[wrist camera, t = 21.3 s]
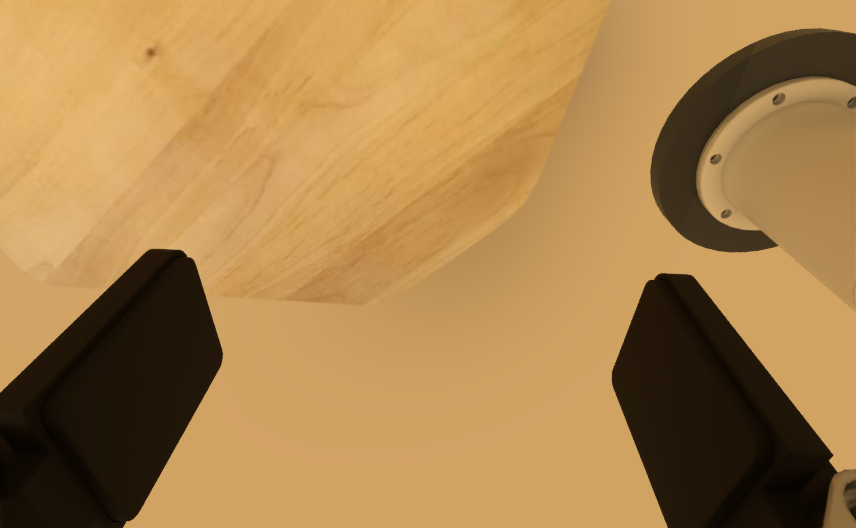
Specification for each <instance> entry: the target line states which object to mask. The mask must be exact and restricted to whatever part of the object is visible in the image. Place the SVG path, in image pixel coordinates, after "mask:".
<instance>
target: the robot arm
mask: <svg viewBox="0 0 856 528" xmlns="http://www.w3.org/2000/svg"><path fill="white" fill-rule="evenodd" d="M696 188H697V192H698V197H699V198H700V200H701V202H702V204H703V206H704V207H705V208H706V209H707V210H708V211H709V213H710V214H711V215H712V216H714V217H715V218H716V219H717V220H718V221H720V222H722V223H724V224H726V225H728V226H730V227H733V228H738V229H742V230H761V231H762V232H763V233H765V234H766V235H767V236H768V237H769V238H770V239H772V240H773V241H774V242H775V243H776V244H777V245H779V246H780V247H781V248H782V249H783V250H784V251H786V252H787V253H788V254H789V255H790V256H791V257H793V258H794V259H795V260H796V261H797V262H798V263H800V264H801V265H802V266H803V267H804V268H805V269H806V270H808V271H809V272H810V273H811V274H812V275H814V276H815V277H816V278H817V279H818V280H819V281H820V282H822V283H823V284H824V285H825V286H826V287H828V288H829V289H830V290H831V291H832V292H834V294H836V295H837V296H838V297H839V298H840V299H841V300H843V301H844V302H845V303H846V304H848V306H850V307H851V308H852V309H853V310H854V311H856V86H853V85H851V84H849V83H846V82H844V81H841V80H837V79H833V78H829V77H818V76H808V77H802V78H795V79H791V80H787V81H784V82H781V83H778V84H775V85H773V86H771V87H769V88H767V89H765V90H762V91H760V92H758V93H757V94H755V95H754V96H752V97H751V98H749V99H748V100H746V101H745V102H743V103H742V104H740V105H739V106H738V107H737V108H736V109H735V110H733V111H732V112H731V113H730V114H729V115H728V116H727V117H726V118H725V119H724V120H723V121H722V122H721V124H720V125H719V126H718V127H717V128H716V129H715V131H714V132H713V134H712V135H711V137H710V138H709V140H708V141H707V143H706V145H705V147H704V149H703V151H702V154H701V156H700V158H699V162H698V166H697V171H696ZM222 359H223V352H222V348H221V344H220V341H219V338H218V335H217V332H216V328H215V325H214V322H213V319H212V316H211V312H210V309H209V306H208V303H207V299H206V296H205V293H204V290H203V286H202V283H201V280H200V277H199V274H198V270H197V267H196V264H195V262H194V260H193V259H192V258H190V257H187V255H186V254H185V253H184V252H183V251H181V250H169V249H150V250H148V251H147V252H146V253H145V254H143V255H142V256H141V257H140V258H139V259H138V260H137V261H136V262H135V263H134V264H133V265H132V266H131V267H130V268H129V269H128V270H127V271H126V272H125V273H124V274H123V275H122V276H121V277H120V278H119V279H118V280H117V281H116V282H114V283H113V284H112V285H111V286H110V287H109V288H108V289H107V290H106V291H105V292H104V293H103V294H102V295H101V296H100V297H99V298H98V299H97V300H96V301H95V302H94V303H93V304H92V305H91V306H90V307H89V308H88V309H86V310H85V312H83V313H82V314H81V315H80V316H79V317H78V318H77V319H76V320H75V321H74V322H73V323H72V324H71V325H70V326H69V327H68V328H67V329H66V330H65V331H64V332H63V333H62V334H61V335H60V336H59V337H58V338H56V340H55V341H54V342H52V343H51V344H50V345H49V346H48V347H47V348H46V349H45V350H44V351H43V352H42V353H41V354H40V355H39V356H38V357H37V358H36V359H35V360H34V361H33V362H32V363H31V364H30V365H28V366H27V367H26V368H25V369H24V371H22V372H21V373H20V375H18V376H17V377H16V378H15V379H14V380H13V381H12V382H11V383H10V384H9V385H8V386H7V387H6V388H5V389H4V390H3V391H2V392H1V393H0V528H123V527H124V525H125V523H126V521H130V520H132V519H134V518H135V517H136V516H137V514H138V513H139V511H140V510H141V508H142V506H143V505H144V503H145V501H146V499H147V497H148V496H149V494H150V492H151V490H152V488H153V487H154V485H155V483H156V481H157V479H158V478H159V476H160V474H161V472H162V470H163V469H164V467H165V465H166V463H167V461H168V460H169V458H170V456H171V454H172V453H173V451H174V449H175V447H176V445H177V444H178V442H179V440H180V438H181V437H182V435H183V433H184V431H185V429H186V428H187V426H188V424H189V422H190V420H191V419H192V417H193V415H194V413H195V411H196V410H197V408H198V406H199V404H200V403H201V401H202V399H203V397H204V395H205V394H206V392H207V390H208V388H209V386H210V385H211V383H212V381H213V379H214V377H215V376H216V374H217V372H218V370H219V368H220V366H221V363H222ZM612 385H613V388H614V391H615V393H616V396H617V399H618V401H619V404H620V406H621V409H622V411H623V414H624V416H625V419H626V422H627V424H628V427H629V429H630V432H631V434H632V437H633V440H634V442H635V445H636V447H637V450H638V452H639V455H640V457H641V460H642V462H643V465H644V468H645V470H646V473H647V475H648V478H649V481H650V483H651V486H652V488H653V491H654V493H655V496H656V498H657V501H658V504H659V506H660V509H661V511H662V514H663V516H664V519H665V521H666V524H667V527H668V528H856V469H855V470H843V471H841V472H839V473H838V472H837V471H836V470H835V469H834V467H833V466H832V465H831V463H830V462H829V460H830V459H831V457H832V456H833V454H832V453H831V452H830V450H829V449H828V448H827V446H826V445H825V444H824V443H823V441H822V440H821V439H820V437H819V436H818V435H817V434H816V432H815V431H814V430H813V429H812V427H811V426H810V425H809V423H808V422H807V421H806V420H805V419H804V417H803V416H802V415H801V413H800V412H799V411H798V410H797V408H796V407H795V406H794V404H793V403H792V402H791V400H790V399H789V398H788V397H787V395H786V394H785V393H784V392H783V390H782V389H781V388H780V386H779V385H778V384H777V383H776V382H775V380H774V379H773V378H772V376H771V375H770V374H769V372H768V371H767V370H766V369H765V367H764V366H763V365H762V363H761V362H760V361H759V360H758V359H757V357H756V356H755V355H754V353H753V352H752V351H751V349H750V348H749V347H748V346H747V344H746V343H745V342H744V341H743V339H742V338H741V337H740V335H739V334H738V333H737V332H736V330H735V329H734V328H733V327H732V325H731V324H730V323H729V321H728V320H727V319H726V317H725V316H724V315H723V314H722V313H721V311H720V310H719V308H718V307H717V306H716V305H715V304H714V302H713V301H712V300H711V298H710V297H709V296H708V294H707V293H706V292H705V291H704V290H703V288H702V287H701V285H700V284H699V283H698V282H697V280H696V279H695V278H694V277H693V276H691V275H687V274H686V275H685V274H666V273H661V274H658V275H657V276H656V277H655V279H654V280H649V281H648V282H647V283H646V285H645V287H644V290H643V293H642V295H641V298H640V300H639V303H638V306H637V308H636V311H635V313H634V316H633V319H632V321H631V324H630V326H629V329H628V332H627V334H626V337H625V339H624V342H623V345H622V347H621V350H620V353H619V355H618V358H617V360H616V363H615V365H614V368H613V371H612Z"/></svg>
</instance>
